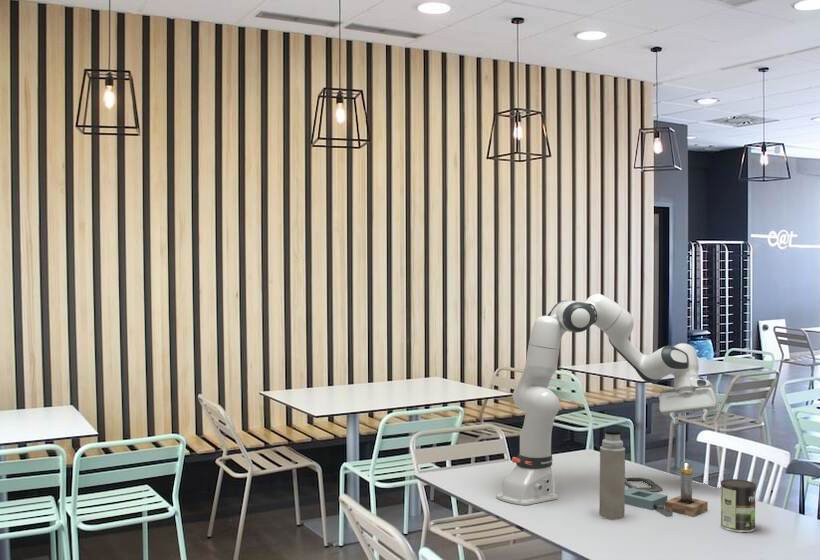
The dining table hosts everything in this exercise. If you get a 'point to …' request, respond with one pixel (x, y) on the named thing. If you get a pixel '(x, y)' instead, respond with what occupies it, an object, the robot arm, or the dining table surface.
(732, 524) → the coffee can
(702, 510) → the socket block
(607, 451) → the thermos bottle
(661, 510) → the drift key
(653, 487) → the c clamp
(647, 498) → the teal flat box
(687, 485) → the gray gold-collared cylinder
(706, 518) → the dining table surface
